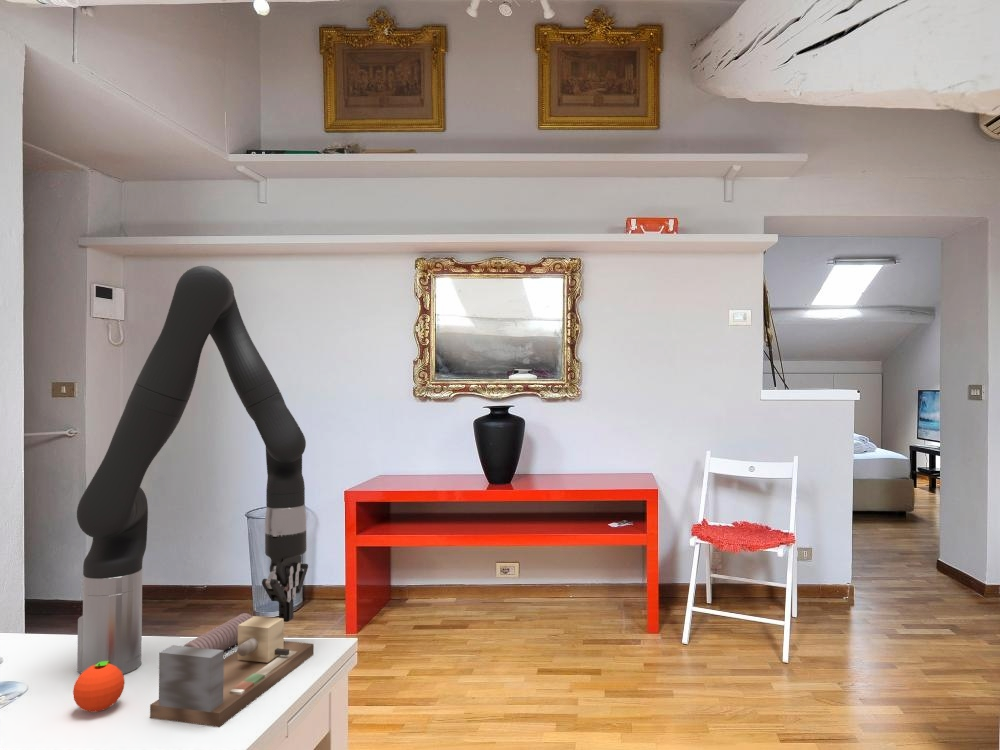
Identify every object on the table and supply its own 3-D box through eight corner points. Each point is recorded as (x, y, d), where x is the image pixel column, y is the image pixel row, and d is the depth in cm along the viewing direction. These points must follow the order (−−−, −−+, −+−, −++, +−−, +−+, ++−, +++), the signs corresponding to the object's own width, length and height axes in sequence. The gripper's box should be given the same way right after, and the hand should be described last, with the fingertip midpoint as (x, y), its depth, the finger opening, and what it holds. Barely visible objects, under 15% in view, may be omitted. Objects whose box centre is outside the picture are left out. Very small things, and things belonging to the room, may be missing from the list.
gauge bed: (150, 717, 102) (150, 651, 103) (256, 648, 130) (257, 596, 130) (219, 726, 100) (219, 658, 100) (313, 654, 127) (313, 601, 127)
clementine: (86, 698, 109) (87, 654, 109) (133, 694, 110) (133, 651, 110) (64, 722, 101) (65, 674, 101) (115, 718, 102) (115, 670, 102)
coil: (200, 646, 120) (259, 614, 137) (177, 642, 121) (239, 610, 138) (197, 672, 120) (257, 636, 137) (175, 667, 121) (237, 632, 138)
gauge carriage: (227, 666, 116) (227, 631, 116) (254, 648, 124) (254, 616, 124) (270, 670, 114) (270, 635, 114) (295, 652, 122) (295, 619, 122)
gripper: (286, 521, 136) (287, 608, 136) (247, 535, 123) (248, 631, 123) (320, 523, 134) (321, 610, 134) (284, 537, 121) (285, 634, 121)
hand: (286, 620), depth 128 cm, fingers closed
